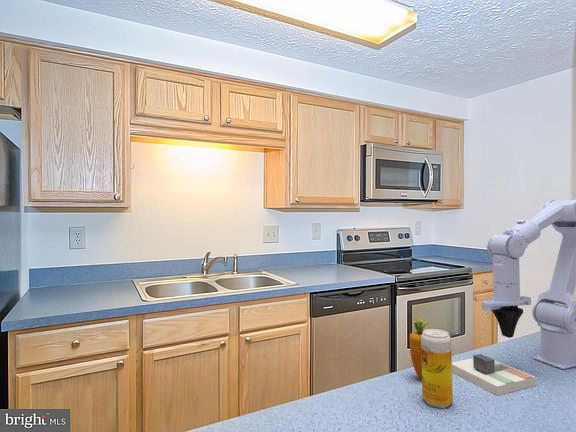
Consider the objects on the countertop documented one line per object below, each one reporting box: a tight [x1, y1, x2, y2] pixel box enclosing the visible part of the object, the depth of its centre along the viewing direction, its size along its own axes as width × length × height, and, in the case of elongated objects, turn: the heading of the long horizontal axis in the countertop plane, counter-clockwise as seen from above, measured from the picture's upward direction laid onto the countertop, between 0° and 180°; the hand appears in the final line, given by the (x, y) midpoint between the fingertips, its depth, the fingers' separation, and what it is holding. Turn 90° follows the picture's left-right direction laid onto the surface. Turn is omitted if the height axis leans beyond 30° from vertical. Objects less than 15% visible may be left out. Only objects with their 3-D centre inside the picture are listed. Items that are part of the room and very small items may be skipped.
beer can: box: [421, 328, 454, 409], centre depth 79 cm, size 6×6×15 cm
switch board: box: [452, 357, 537, 396], centre depth 90 cm, size 12×14×2 cm
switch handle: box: [472, 353, 496, 374], centre depth 89 cm, size 2×4×5 cm, turn 20°
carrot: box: [408, 317, 429, 380], centre depth 90 cm, size 5×5×15 cm
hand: (507, 336), depth 92 cm, fingers closed
